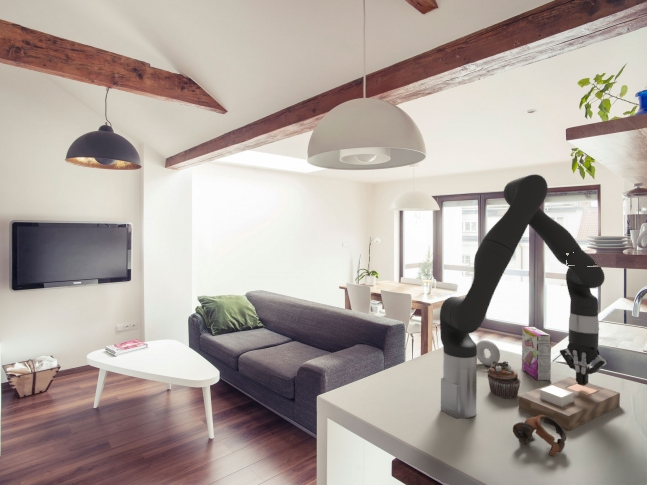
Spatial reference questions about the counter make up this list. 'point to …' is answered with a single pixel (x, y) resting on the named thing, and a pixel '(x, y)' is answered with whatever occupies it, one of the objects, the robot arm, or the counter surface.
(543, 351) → the candy bar box
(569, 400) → the white rectangular block
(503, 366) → the cupcake
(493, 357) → the donut
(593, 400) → the key panel
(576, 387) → the terracotta key
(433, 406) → the counter surface
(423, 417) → the counter surface
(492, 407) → the counter surface
